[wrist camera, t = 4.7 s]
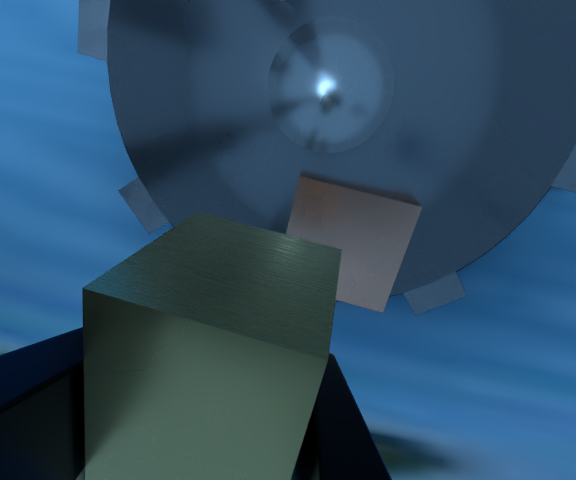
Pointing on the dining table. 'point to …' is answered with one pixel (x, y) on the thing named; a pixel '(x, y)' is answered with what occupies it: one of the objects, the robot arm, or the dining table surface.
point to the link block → (206, 353)
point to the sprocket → (346, 124)
